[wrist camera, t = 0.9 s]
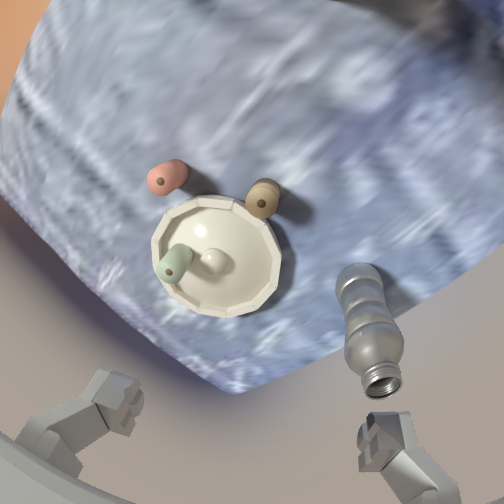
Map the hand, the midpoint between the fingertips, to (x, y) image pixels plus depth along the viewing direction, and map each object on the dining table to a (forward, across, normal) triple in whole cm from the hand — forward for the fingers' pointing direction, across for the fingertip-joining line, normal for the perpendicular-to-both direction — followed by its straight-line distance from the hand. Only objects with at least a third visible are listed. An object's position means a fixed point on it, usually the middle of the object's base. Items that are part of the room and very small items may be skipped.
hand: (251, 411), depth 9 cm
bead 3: (+32, +2, +1) cm, 32 cm away
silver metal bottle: (+32, -11, +11) cm, 36 cm away
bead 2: (+31, +13, +11) cm, 35 cm away
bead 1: (+32, +14, -1) cm, 35 cm away
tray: (+32, +9, +11) cm, 35 cm away
